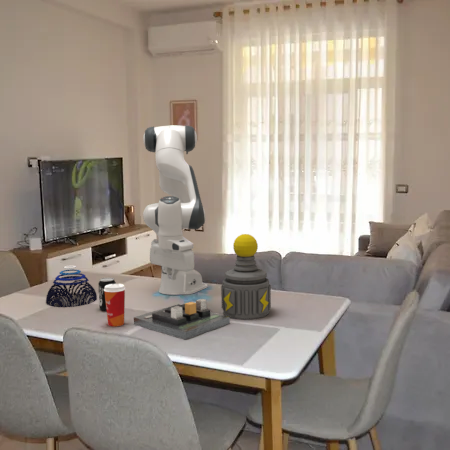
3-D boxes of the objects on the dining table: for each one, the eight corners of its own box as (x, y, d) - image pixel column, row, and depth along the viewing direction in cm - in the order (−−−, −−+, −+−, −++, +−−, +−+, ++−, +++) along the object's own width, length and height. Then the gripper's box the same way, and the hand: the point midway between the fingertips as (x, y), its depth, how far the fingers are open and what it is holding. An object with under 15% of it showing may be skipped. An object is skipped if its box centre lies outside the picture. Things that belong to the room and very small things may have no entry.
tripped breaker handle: (191, 311, 197) (190, 301, 197) (196, 312, 195) (196, 302, 195) (185, 313, 195) (184, 303, 194) (190, 314, 193) (189, 304, 193)
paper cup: (106, 321, 203) (104, 283, 201) (127, 320, 204) (126, 282, 202) (103, 328, 195) (101, 288, 194) (126, 327, 196) (124, 288, 194)
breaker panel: (178, 310, 216) (178, 290, 214) (229, 323, 198) (229, 301, 197) (133, 324, 199) (133, 302, 198) (185, 339, 182) (184, 315, 181)
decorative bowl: (35, 305, 227) (33, 270, 225) (66, 293, 246) (65, 260, 244) (76, 309, 220) (74, 273, 218) (105, 296, 238) (104, 263, 236)
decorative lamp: (245, 303, 225) (244, 229, 221) (281, 312, 211) (281, 233, 207) (210, 313, 212) (209, 234, 208) (247, 323, 198) (246, 239, 194)
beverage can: (112, 311, 215) (111, 281, 213) (96, 311, 216) (95, 280, 215) (119, 307, 221) (118, 277, 220) (103, 306, 223) (102, 277, 221)
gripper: (145, 239, 206) (146, 276, 209) (184, 247, 193) (185, 286, 195) (157, 237, 211) (159, 272, 213) (196, 244, 197) (197, 282, 200)
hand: (171, 279), depth 204 cm, fingers closed
